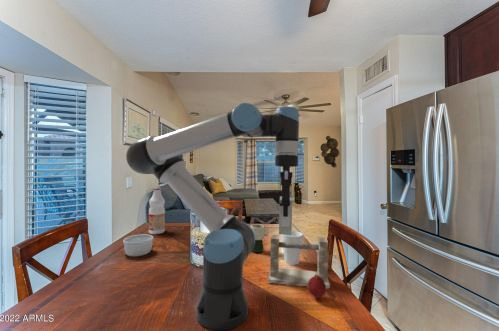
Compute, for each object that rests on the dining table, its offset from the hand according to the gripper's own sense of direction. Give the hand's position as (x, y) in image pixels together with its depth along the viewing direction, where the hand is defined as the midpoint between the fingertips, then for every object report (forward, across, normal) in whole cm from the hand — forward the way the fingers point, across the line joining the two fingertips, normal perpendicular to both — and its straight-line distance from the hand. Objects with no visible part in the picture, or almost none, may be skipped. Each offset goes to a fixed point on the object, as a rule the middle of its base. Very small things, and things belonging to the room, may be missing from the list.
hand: (285, 222), depth 79 cm
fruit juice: (+25, +58, +80) cm, 102 cm away
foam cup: (+25, +29, -3) cm, 39 cm away
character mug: (+25, +39, +14) cm, 48 cm away
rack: (+25, +13, -5) cm, 29 cm away
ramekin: (+25, +26, +71) cm, 80 cm away
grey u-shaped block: (+3, 0, 0) cm, 3 cm away
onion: (+25, +2, -11) cm, 27 cm away
